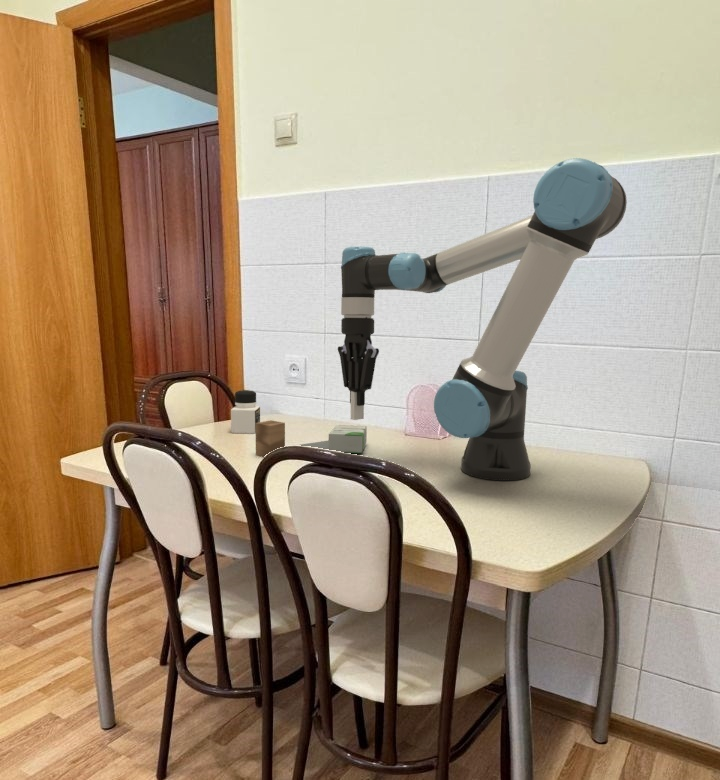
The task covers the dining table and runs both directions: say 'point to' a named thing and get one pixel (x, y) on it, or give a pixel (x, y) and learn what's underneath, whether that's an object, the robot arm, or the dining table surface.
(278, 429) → the walnut block
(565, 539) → the dining table surface
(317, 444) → the mat
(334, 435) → the ink box
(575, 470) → the dining table surface
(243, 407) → the medicine bottle
